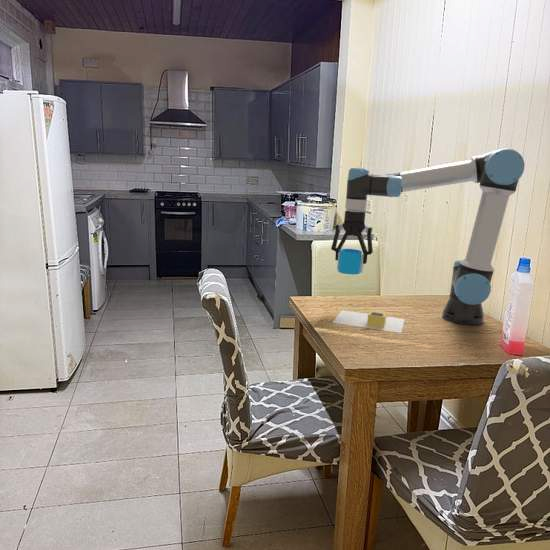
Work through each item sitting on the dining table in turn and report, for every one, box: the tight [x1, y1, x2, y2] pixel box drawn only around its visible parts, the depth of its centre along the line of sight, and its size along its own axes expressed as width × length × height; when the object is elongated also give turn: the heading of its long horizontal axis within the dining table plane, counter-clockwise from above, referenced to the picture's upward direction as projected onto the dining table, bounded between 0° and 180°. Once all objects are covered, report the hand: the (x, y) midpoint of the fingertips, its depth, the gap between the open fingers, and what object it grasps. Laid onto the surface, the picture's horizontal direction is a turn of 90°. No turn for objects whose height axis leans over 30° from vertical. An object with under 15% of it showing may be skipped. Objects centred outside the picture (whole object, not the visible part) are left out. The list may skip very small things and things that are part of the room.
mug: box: [337, 248, 363, 275], centre depth 192 cm, size 12×8×8 cm
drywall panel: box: [332, 310, 405, 334], centre depth 186 cm, size 30×17×1 cm, turn 72°
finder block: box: [367, 310, 388, 328], centre depth 182 cm, size 6×6×4 cm
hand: (350, 270), depth 193 cm, fingers closed on mug, 8 cm apart
